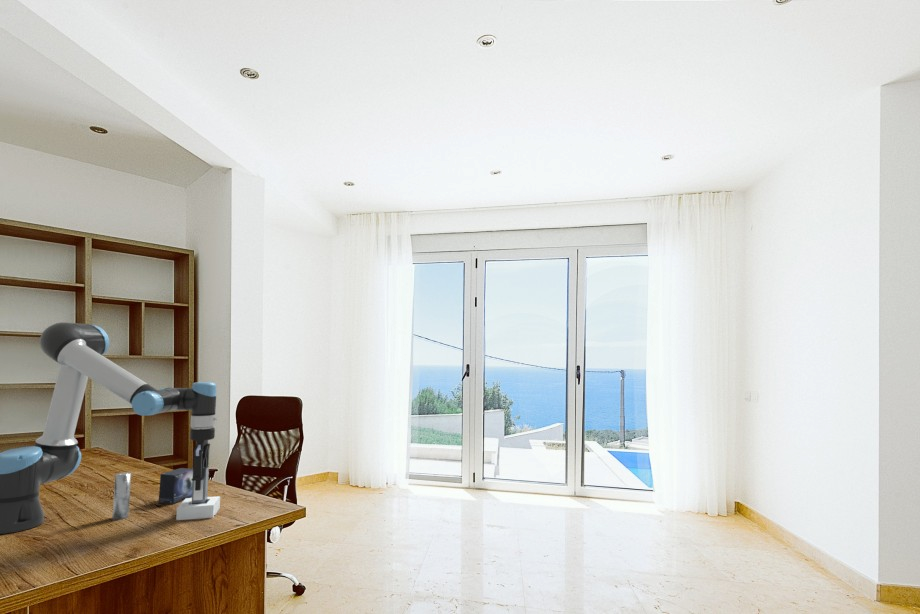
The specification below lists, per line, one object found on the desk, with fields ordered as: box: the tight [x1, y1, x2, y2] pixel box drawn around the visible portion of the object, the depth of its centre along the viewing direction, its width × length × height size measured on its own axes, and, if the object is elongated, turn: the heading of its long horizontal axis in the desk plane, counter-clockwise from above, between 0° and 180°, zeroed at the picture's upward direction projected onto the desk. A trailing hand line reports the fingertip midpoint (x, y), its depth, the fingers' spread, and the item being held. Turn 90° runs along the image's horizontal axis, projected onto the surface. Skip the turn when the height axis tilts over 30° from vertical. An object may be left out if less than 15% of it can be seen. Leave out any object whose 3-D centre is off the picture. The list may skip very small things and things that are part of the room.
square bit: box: [191, 465, 210, 504], centre depth 174 cm, size 4×4×14 cm
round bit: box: [112, 472, 132, 521], centre depth 170 cm, size 4×4×14 cm
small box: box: [157, 467, 193, 505], centre depth 190 cm, size 11×6×10 cm, turn 168°
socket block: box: [175, 495, 221, 521], centre depth 174 cm, size 11×11×4 cm
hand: (199, 497), depth 174 cm, fingers closed on square bit, 4 cm apart
